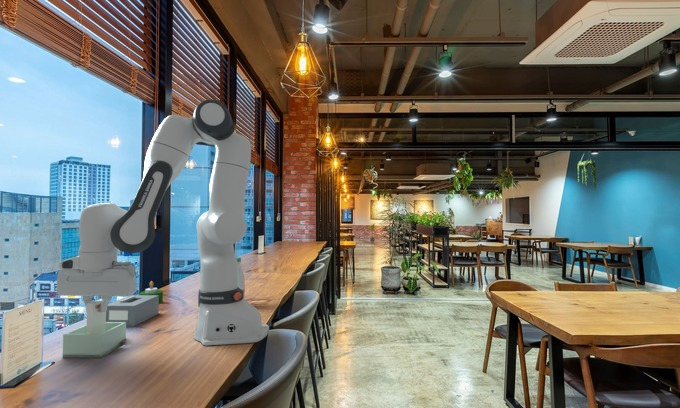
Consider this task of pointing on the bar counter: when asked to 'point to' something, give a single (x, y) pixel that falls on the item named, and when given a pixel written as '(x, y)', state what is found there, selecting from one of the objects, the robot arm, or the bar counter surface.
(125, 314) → the block
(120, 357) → the bar counter surface
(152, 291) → the candle
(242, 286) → the milk bottle
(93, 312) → the pale bar
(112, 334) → the stub box
